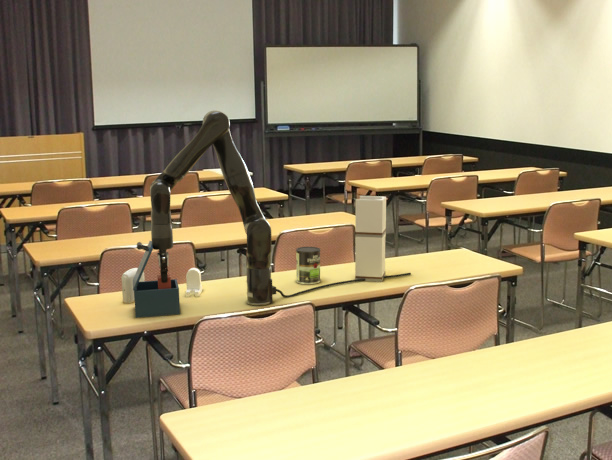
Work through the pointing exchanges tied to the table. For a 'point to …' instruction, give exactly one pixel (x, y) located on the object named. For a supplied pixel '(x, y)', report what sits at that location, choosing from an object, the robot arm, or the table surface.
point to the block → (164, 285)
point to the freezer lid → (142, 262)
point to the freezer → (156, 299)
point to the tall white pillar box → (370, 238)
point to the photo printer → (129, 285)
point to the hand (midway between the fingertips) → (164, 280)
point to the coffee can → (308, 265)
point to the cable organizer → (193, 282)
